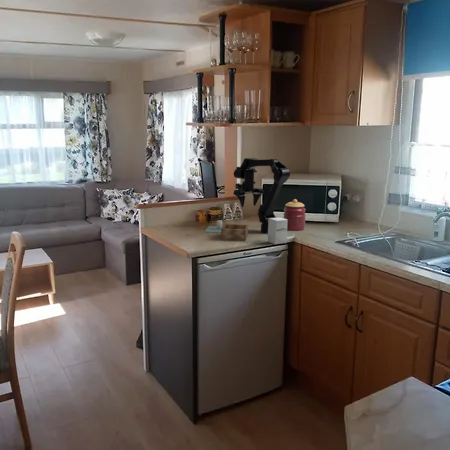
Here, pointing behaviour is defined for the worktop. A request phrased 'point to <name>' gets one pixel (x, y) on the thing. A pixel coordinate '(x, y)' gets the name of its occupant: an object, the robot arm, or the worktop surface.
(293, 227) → the canister
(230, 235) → the box
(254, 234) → the worktop surface
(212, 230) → the lid
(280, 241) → the supplement box
